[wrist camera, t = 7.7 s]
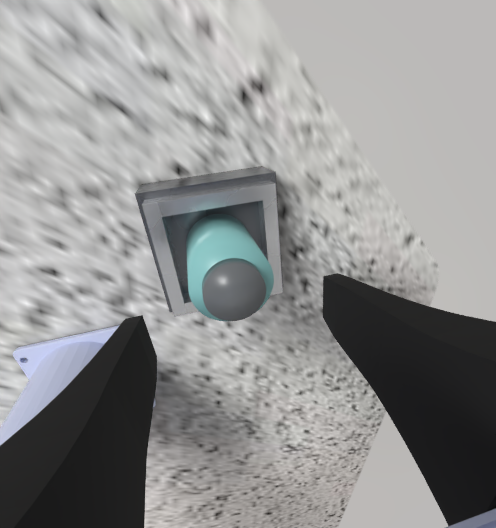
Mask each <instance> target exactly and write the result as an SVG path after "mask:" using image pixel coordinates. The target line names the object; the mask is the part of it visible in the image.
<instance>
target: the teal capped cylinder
mask: <svg viewBox="0 0 496 528" xmlns="http://www.w3.org/2000/svg"><path fill="white" fill-rule="evenodd" d="M186 252H187V272H188V291H189V296H190V299H191V301H192V303H193V305H194V306H195V307H196V309H197V310H198V311H200V312H201V313H202V314H204V315H205V316H207V317H209V318H212V319H214V320H219V321H237V320H241V319H245V318H247V317H249V316H251V315H252V314H254V313H255V312H256V311H258V310H259V309H260V308H261V307H262V306H263V305H264V304H265V303H266V301H267V300H268V298H269V296H270V295H271V292H272V289H273V285H274V275H273V270H272V268H271V265H270V264H269V262H268V260H267V259H266V257H265V256H264V254H263V253H262V251H261V250H260V248H259V247H258V245H257V244H256V242H255V241H254V239H253V238H252V236H251V235H250V233H249V232H248V231H247V229H246V228H245V226H244V225H243V224H242V223H241V222H240V221H239V220H238V219H236V218H234V217H232V216H230V215H226V214H212V215H209V216H206V217H204V218H202V219H200V220H199V221H198V222H196V223H195V224H194V225H193V227H192V228H191V230H190V231H189V234H188V236H187V240H186Z"/></svg>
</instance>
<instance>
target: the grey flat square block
mask: <svg viewBox="0 0 496 528" xmlns="http://www.w3.org/2000/svg"><path fill="white" fill-rule="evenodd" d="M135 196H136V199H137V202H138V206H139V209H140V213H141V216H142V219H143V223H144V226H145V229H146V233H147V236H148V240H149V243H150V246H151V250H152V253H153V257H154V260H155V263H156V267H157V270H158V273H159V277H160V280H161V284H162V287H163V290H164V294H165V297H166V300H167V304H168V307H169V311H170V312H173V314H174V317H175V316H180V315H184V314H189V313H193V312H198V310H197V309H196V307H195V306H194V305H193V303H192V301H191V299H190V296H189V291H188V272H187V252H186V240H187V236H188V234H189V231H190V230H191V228H192V227H193V225H194V224H195V223H196V222H198V221H199V220H200V219H202V218H204V217H206V216H209V215H212V214H226V215H230V216H232V217H234V218H236V219H238V220H239V221H240V222H241V223H242V224H243V225H244V226H245V228H246V229H247V231H248V232H249V233H250V235H251V236H252V238H253V239H254V241H255V242H256V244H257V245H258V247H259V248H260V250H261V251H262V253H263V254H264V256H265V257H266V259H267V260H268V262H269V264H270V265H271V268H272V270H273V275H274V285H273V289H272V292H271V295H275V294H280V293H283V289H282V288H283V281H282V265H281V250H280V234H279V219H278V204H277V188H276V173H275V172H274V171H272V170H270V169H267V168H265V167H263V166H261V167H254V168H248V169H241V170H234V171H228V172H221V173H214V174H208V175H201V176H194V177H188V178H181V179H174V180H168V181H161V182H155V183H148V184H142V185H141V186H140V188H139V189H138V190H137V192H136V193H135ZM271 295H270V296H271Z"/></svg>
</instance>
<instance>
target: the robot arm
mask: <svg viewBox="0 0 496 528" xmlns="http://www.w3.org/2000/svg"><path fill="white" fill-rule="evenodd" d="M323 318H324V320H325V322H326V323H327V325H328V327H329V329H330V331H331V332H332V334H333V336H334V337H335V339H336V340H337V342H338V343H339V344H340V346H341V347H342V348H343V350H344V351H345V352H346V354H347V355H348V356H349V358H350V359H351V360H352V362H353V363H354V364H355V365H356V367H357V368H358V369H359V371H360V372H361V373H362V375H363V376H364V377H365V379H366V380H367V381H368V383H369V384H370V386H371V387H372V388H373V390H374V391H375V393H376V394H377V396H378V398H379V399H380V401H381V403H382V404H383V406H384V407H385V409H386V411H387V412H388V414H389V415H390V417H391V419H392V420H393V422H394V424H395V426H396V428H397V429H398V431H399V433H400V435H401V436H402V438H403V440H404V441H405V443H406V445H407V447H408V449H409V450H410V452H411V454H412V456H413V457H414V459H415V461H416V463H417V465H418V467H419V469H420V471H421V472H422V474H423V476H424V478H425V480H426V482H427V484H428V486H429V488H430V490H431V492H432V493H433V496H434V497H435V500H436V502H437V503H438V505H439V507H440V509H441V511H442V513H443V515H444V517H445V519H446V521H447V523H448V527H446V528H496V322H493V321H487V320H483V319H478V318H473V317H468V316H464V315H459V314H454V313H450V312H447V311H443V310H440V309H436V308H432V307H429V306H425V305H422V304H419V303H416V302H413V301H410V300H407V299H404V298H401V297H398V296H395V295H393V294H390V293H387V292H385V291H382V290H379V289H377V288H374V287H372V286H369V285H367V284H364V283H362V282H360V281H357V280H355V279H352V278H349V277H347V276H344V275H341V274H338V273H337V274H333V275H328V276H324V280H323ZM13 356H14V358H15V359H16V361H17V362H18V364H19V365H20V367H21V368H22V370H23V371H24V373H25V374H26V376H27V377H28V379H29V382H28V383H27V385H26V386H25V388H24V390H23V391H22V393H21V395H20V396H19V398H18V400H17V401H16V403H15V405H14V406H13V408H12V409H11V411H10V413H9V414H8V416H7V418H6V419H5V421H4V423H3V424H2V426H1V428H0V528H144V512H145V481H146V458H147V448H148V439H149V432H150V425H151V418H152V411H153V408H154V407H155V405H156V401H155V398H154V397H155V390H156V382H157V356H156V353H155V350H154V347H153V344H152V341H151V339H150V336H149V333H148V330H147V327H146V324H145V322H144V319H143V316H137V317H132V318H128V319H125V320H124V321H123V322H122V323H121V325H118V326H114V327H109V328H105V329H100V330H95V331H91V332H86V333H82V334H77V335H73V336H68V337H63V338H59V339H54V340H50V341H45V342H40V343H36V344H31V345H27V346H22V347H19V348H17V349H16V350H15V351H14V352H13ZM24 358H27V359H24Z"/></svg>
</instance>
